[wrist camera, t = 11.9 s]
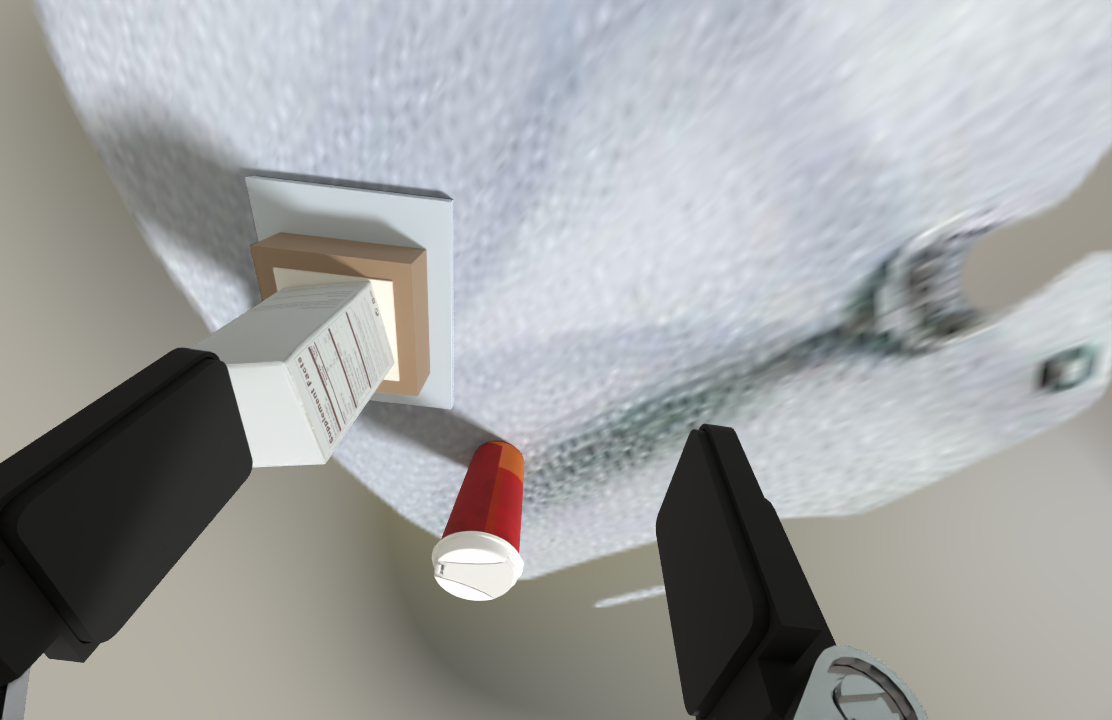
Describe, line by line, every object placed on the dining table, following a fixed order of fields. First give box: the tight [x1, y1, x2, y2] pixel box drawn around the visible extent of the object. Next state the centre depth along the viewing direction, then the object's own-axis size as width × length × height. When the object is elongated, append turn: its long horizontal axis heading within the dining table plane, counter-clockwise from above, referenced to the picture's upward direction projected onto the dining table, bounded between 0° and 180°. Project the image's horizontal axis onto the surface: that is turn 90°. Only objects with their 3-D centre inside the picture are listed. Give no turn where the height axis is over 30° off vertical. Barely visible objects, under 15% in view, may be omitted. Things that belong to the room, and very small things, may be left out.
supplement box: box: [190, 281, 395, 467], centre depth 31 cm, size 7×7×13 cm
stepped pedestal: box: [245, 176, 454, 409], centre depth 39 cm, size 20×16×5 cm
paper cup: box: [432, 441, 524, 601], centre depth 44 cm, size 8×8×14 cm
